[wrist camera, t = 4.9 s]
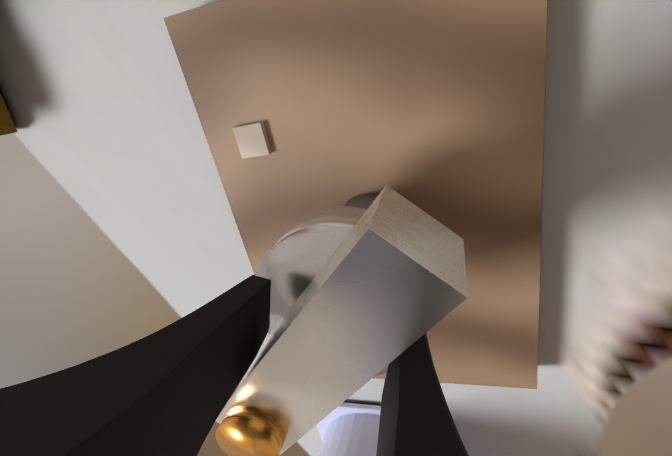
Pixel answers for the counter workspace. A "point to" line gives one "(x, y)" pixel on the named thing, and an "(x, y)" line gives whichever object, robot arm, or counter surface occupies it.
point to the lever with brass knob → (340, 314)
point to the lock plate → (389, 139)
